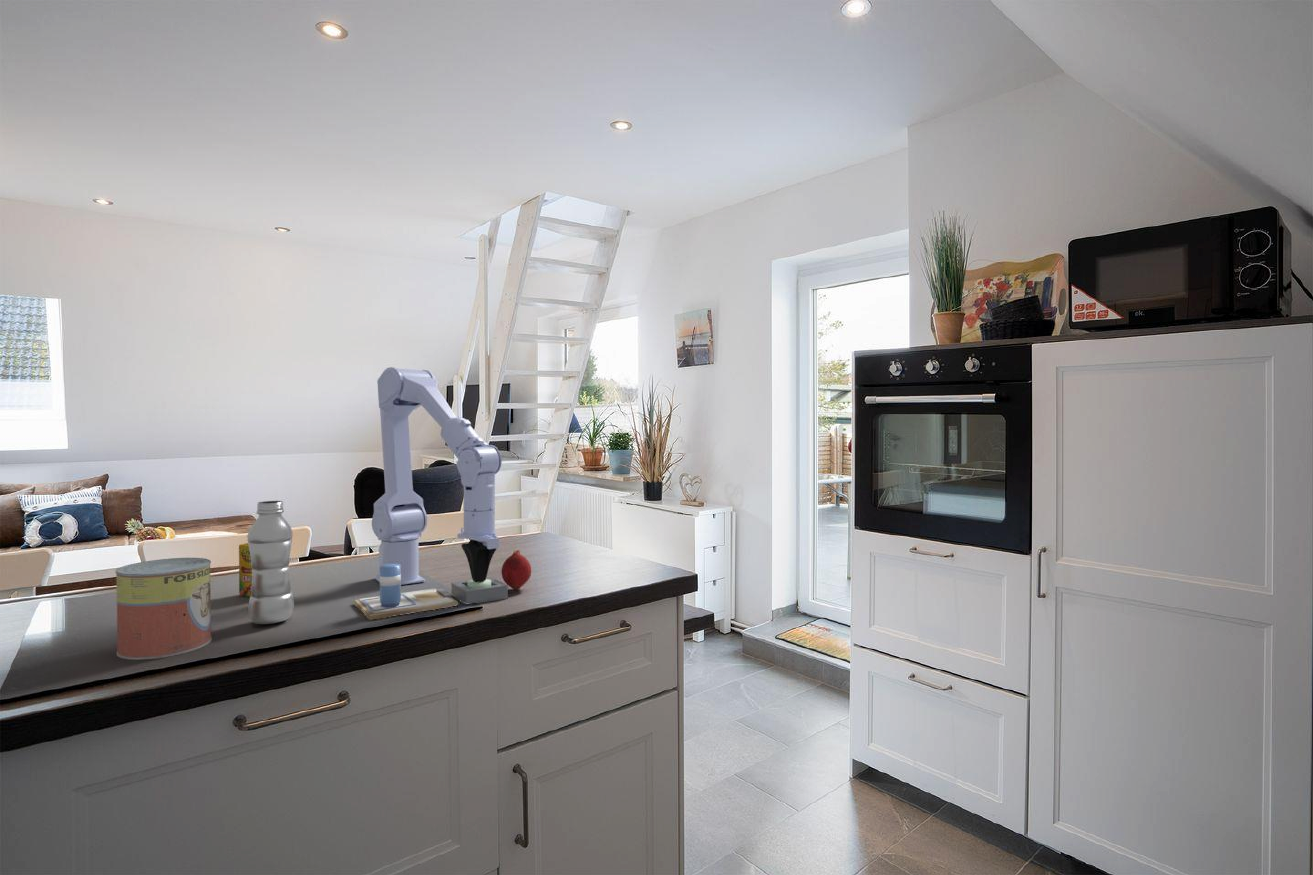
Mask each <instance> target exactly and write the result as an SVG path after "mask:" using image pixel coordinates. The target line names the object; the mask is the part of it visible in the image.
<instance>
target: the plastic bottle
mask: <svg viewBox="0 0 1313 875" xmlns="http://www.w3.org/2000/svg"><path fill="white" fill-rule="evenodd" d="M284 512H285V510H284V500H265V501H264V500H263V501H258V502H257V510H256V515H258V516H257V517H258V518H257V519H256V520H255V521H254V522H253V523H252V524H251V527H250V528H249V530H248V533H247V535H246V538H247V543H248V545H249V551H250V556H251V566H252V586H251V597H249V600H248V607H247V608H248V609H247V611H248V616H249V619H250V621H251V622H252V623H254V624H258V625H272V624H277V623H280V622H284V621H286V620H288V619H290V618H291V617H292V615H293V613H294V608H295V602H294V594H293V592H292V586H291V576H290V575H291V574H290V561H291V560H290V559H291V557H290V556H291V550H292V549H291V548H292V542H293V530H292V529H293V528H292V527H291V526H290V524H289V523H288V521H287V520H286V519H285V518H284V517H283V513H284Z"/></svg>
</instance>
